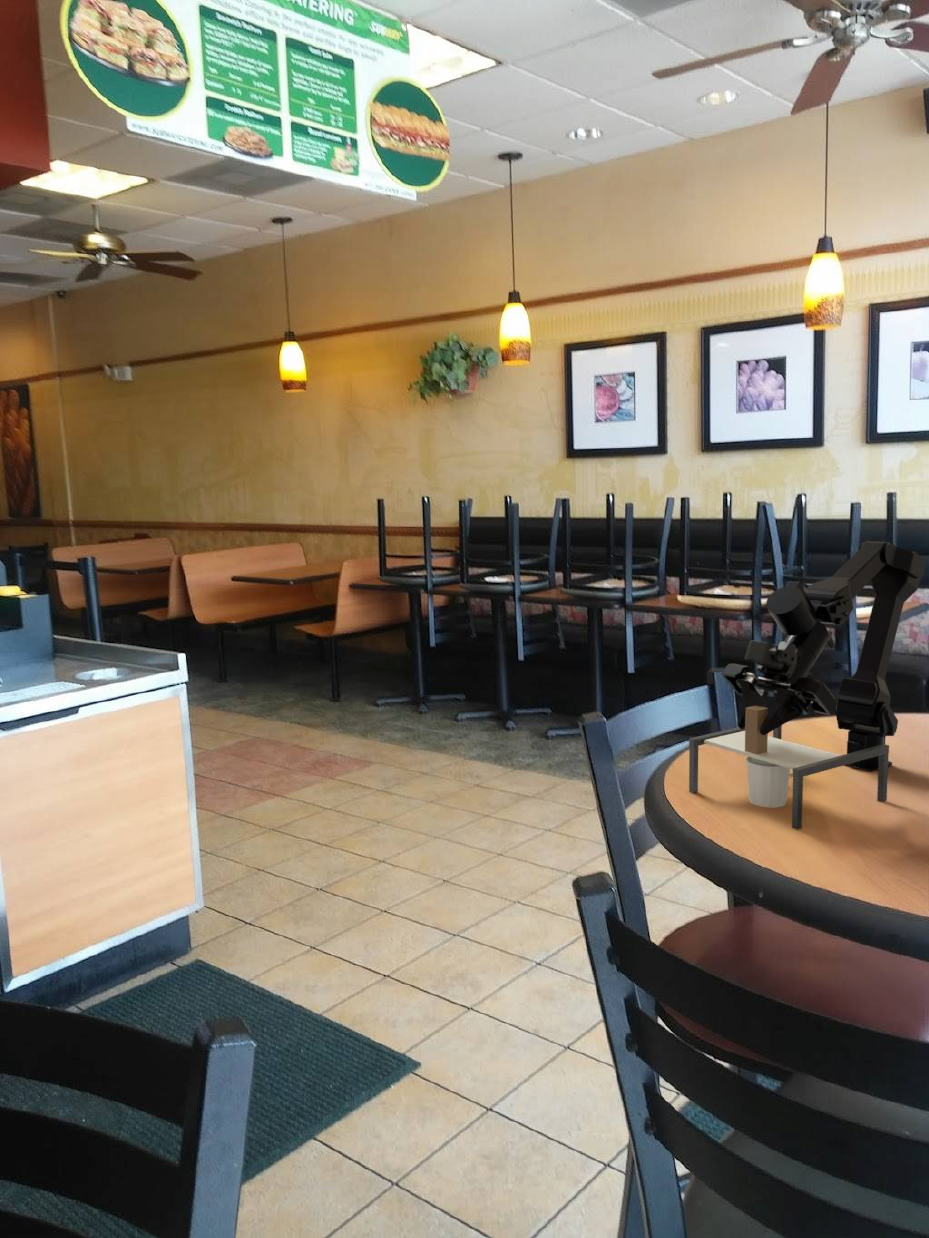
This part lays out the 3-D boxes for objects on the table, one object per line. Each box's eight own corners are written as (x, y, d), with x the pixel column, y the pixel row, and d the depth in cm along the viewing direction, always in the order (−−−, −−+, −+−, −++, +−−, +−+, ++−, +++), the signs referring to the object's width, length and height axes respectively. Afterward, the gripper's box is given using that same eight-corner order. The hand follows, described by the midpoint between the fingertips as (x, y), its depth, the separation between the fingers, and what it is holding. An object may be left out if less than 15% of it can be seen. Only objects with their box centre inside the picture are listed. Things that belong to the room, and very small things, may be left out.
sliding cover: (746, 733, 171) (746, 689, 169) (842, 759, 155) (844, 711, 153) (704, 743, 165) (704, 698, 164) (799, 771, 149) (800, 721, 148)
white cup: (792, 809, 157) (793, 766, 156) (747, 807, 158) (748, 764, 157) (787, 795, 163) (788, 753, 162) (744, 793, 165) (744, 752, 164)
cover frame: (776, 768, 178) (777, 718, 177) (887, 800, 160) (889, 745, 158) (688, 791, 167) (689, 738, 165) (796, 829, 148) (798, 770, 147)
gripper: (730, 614, 165) (680, 690, 161) (825, 628, 149) (773, 712, 145) (762, 656, 170) (715, 729, 166) (857, 673, 155) (808, 755, 150)
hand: (750, 730), depth 157 cm, fingers open, 4 cm apart
